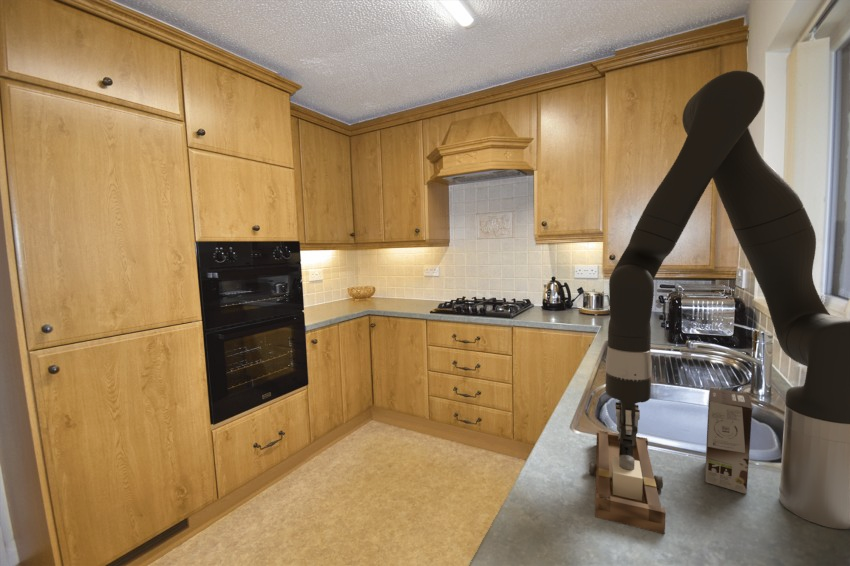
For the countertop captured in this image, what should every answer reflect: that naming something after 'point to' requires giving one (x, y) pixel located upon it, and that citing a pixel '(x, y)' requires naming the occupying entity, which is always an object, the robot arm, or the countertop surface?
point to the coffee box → (728, 439)
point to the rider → (627, 477)
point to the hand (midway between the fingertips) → (625, 460)
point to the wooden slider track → (623, 508)
